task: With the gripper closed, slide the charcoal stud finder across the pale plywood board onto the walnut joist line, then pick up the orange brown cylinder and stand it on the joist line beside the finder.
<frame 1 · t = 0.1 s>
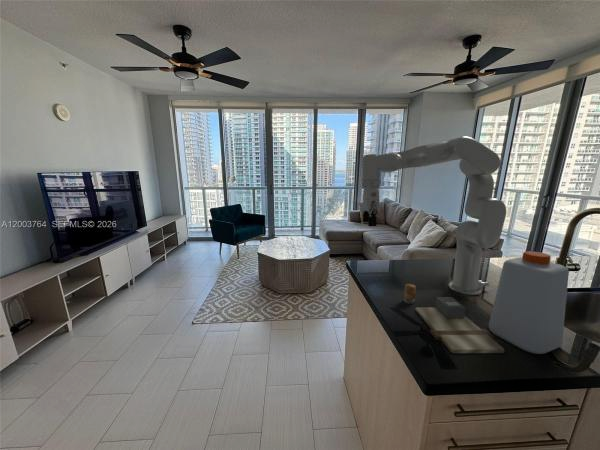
hand: (369, 223, 108), 31 cm above the countertop, fingers open, 9 cm apart
plastic bottle: (522, 338, 79), on the countertop
stud finder: (449, 306, 91), point 4 cm above the countertop, slide at 0.0 cm
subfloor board: (453, 328, 84), on the countertop
orange brown cylinder: (409, 301, 103), on the countertop
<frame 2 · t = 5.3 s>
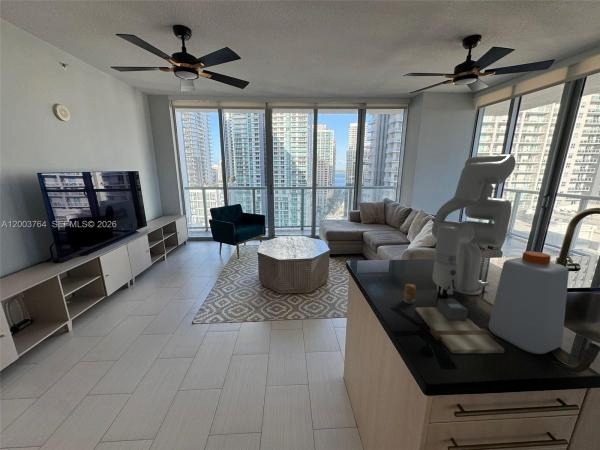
hand: (441, 302, 96), 3 cm above the countertop, fingers closed
stud finder: (451, 308, 90), point 4 cm above the countertop, slide at 1.4 cm, touching gripper
everything else where it was.
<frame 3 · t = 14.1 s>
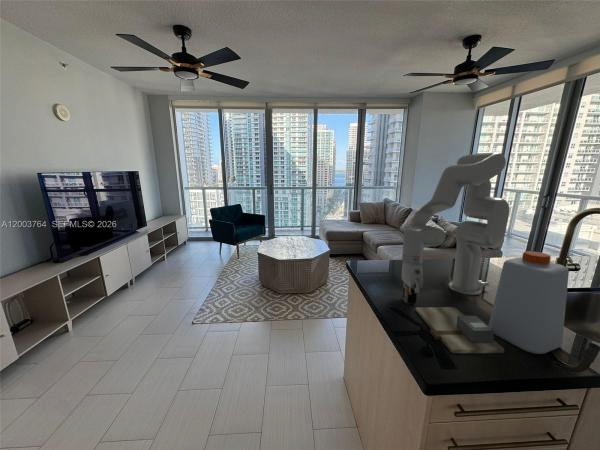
hand: (409, 299, 103), 1 cm above the countertop, fingers closed on orange brown cylinder, 4 cm apart
stud finder: (474, 328, 78), point 4 cm above the countertop, slide at 13.3 cm
orange brown cylinder: (409, 301, 103), on the countertop, touching gripper
everything else where it was.
when the fingers open (3 cm above the countertop, at t = 19.6 s): orange brown cylinder drops 1 cm, resting on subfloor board.
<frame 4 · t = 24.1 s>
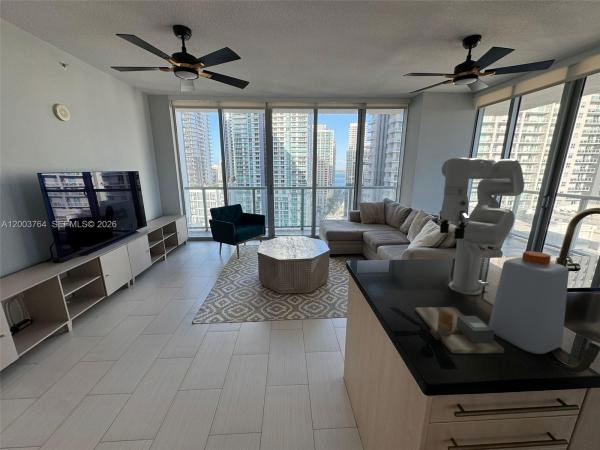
hand: (451, 235, 97), 28 cm above the countertop, fingers open, 9 cm apart
orange brown cylinder: (444, 332, 80), point 1 cm above the countertop, touching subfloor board
everything else where it was.
at the end: stud finder slide at 13.3 cm; orange brown cylinder 0.1 cm from the target spot on the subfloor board, point 1.3 cm above the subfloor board's base; orange brown cylinder tilted 0° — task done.
